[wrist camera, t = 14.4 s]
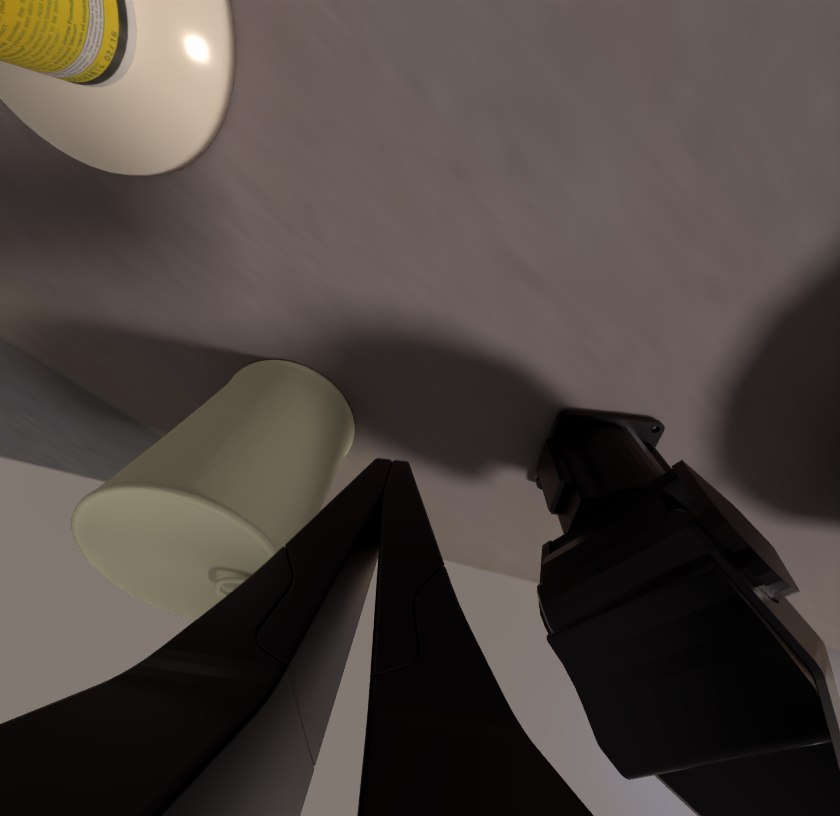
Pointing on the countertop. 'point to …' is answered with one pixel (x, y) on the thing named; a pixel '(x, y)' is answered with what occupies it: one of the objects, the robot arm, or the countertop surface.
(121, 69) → the supplement bottle
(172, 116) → the coaster
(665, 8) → the countertop surface
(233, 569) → the can
